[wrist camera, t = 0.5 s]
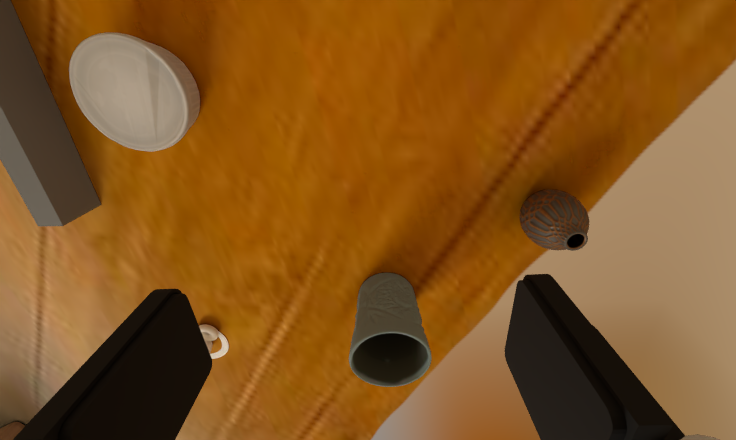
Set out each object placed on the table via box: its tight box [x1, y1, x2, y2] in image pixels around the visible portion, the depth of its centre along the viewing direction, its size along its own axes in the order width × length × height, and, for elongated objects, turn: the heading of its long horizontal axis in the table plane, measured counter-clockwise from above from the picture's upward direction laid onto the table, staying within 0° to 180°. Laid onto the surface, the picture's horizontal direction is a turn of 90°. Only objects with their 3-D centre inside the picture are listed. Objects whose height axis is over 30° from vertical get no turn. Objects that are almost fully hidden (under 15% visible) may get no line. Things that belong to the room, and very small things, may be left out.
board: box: [0, 0, 101, 226], centre depth 34 cm, size 28×3×6 cm, turn 1°
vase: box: [520, 190, 589, 250], centre depth 38 cm, size 7×7×9 cm
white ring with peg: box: [199, 324, 229, 359], centre depth 54 cm, size 9×8×4 cm
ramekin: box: [69, 33, 200, 151], centre depth 34 cm, size 11×11×5 cm
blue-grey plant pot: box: [349, 273, 431, 387], centre depth 44 cm, size 10×10×12 cm
